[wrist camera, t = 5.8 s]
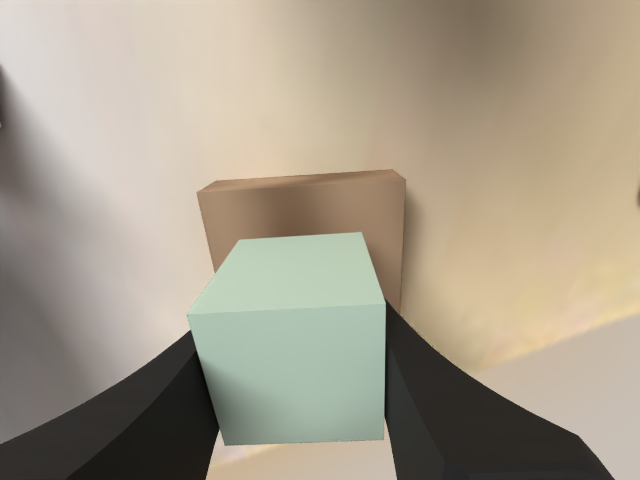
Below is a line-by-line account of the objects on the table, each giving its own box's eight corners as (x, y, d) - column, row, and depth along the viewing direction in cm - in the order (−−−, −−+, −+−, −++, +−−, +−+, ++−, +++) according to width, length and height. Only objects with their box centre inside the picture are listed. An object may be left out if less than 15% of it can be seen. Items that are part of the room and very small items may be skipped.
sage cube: (361, 232, 12) (385, 303, 7) (363, 332, 14) (383, 439, 9) (239, 239, 12) (186, 314, 7) (257, 337, 14) (224, 445, 9)
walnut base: (390, 168, 15) (405, 179, 12) (387, 312, 19) (398, 346, 16) (218, 179, 16) (196, 192, 13) (246, 319, 19) (233, 353, 16)
